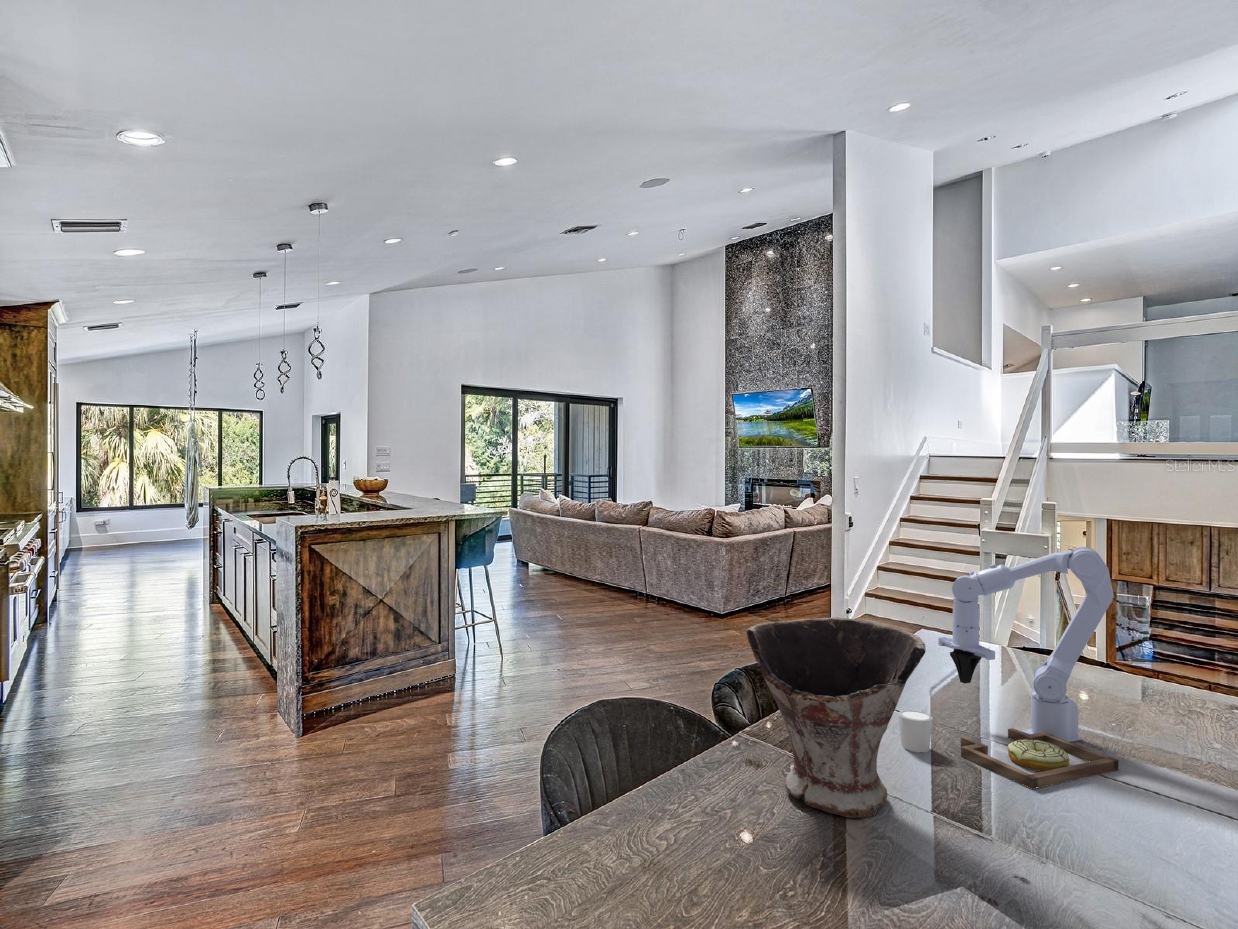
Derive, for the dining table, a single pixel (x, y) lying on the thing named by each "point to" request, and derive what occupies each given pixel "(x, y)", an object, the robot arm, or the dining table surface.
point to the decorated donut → (1037, 755)
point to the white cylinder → (915, 730)
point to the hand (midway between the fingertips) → (965, 682)
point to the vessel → (836, 703)
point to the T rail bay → (1095, 767)
